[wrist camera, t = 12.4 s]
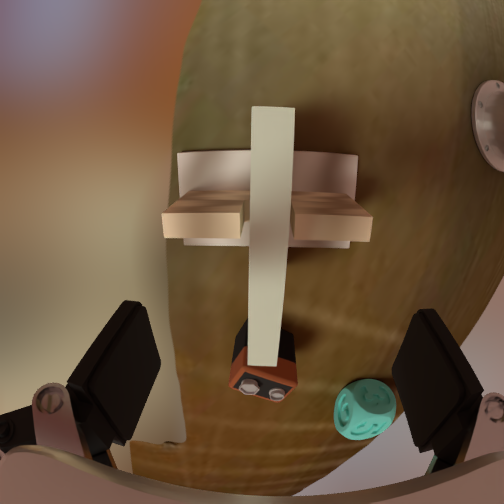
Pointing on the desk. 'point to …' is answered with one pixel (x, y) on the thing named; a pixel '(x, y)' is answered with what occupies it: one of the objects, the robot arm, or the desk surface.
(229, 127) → the desk surface
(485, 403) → the robot arm
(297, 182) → the stand
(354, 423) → the decorative dice
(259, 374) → the battery
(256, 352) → the beige rectangular panel
